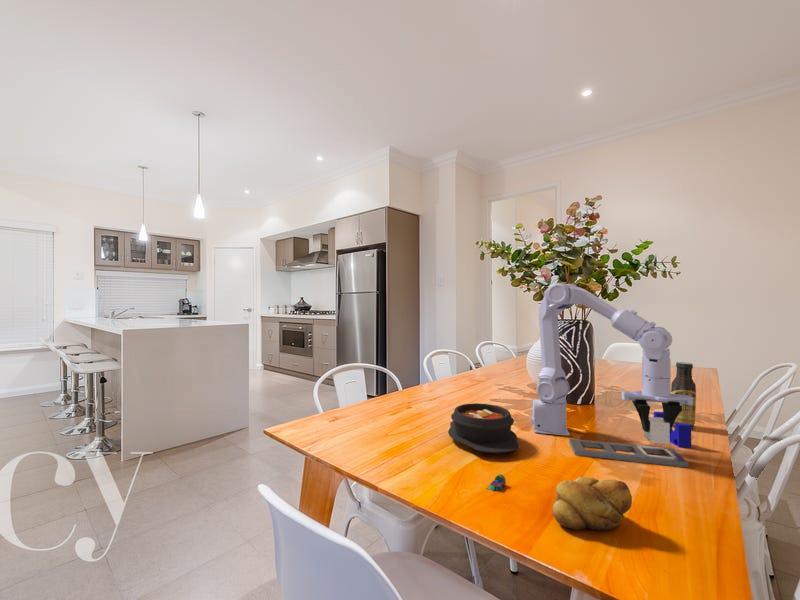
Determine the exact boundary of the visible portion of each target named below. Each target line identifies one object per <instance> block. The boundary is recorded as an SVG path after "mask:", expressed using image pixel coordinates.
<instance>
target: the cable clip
mask: <svg viewBox="0 0 800 600" xmlns="http://www.w3.org/2000/svg"><path fill="white" fill-rule="evenodd" d="M653 417H658V418H663V419H664V415H663V411H653ZM670 443H671V444H673V445H674V446H676V447H678V448H684V449H685V448H686V449H692V429H691V426H690V425H689V424H677V423H675V427H674V429H672V430H671V434H670Z"/></svg>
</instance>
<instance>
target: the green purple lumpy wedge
mask: <svg viewBox="0 0 800 600" xmlns="http://www.w3.org/2000/svg"><path fill="white" fill-rule="evenodd" d="M506 481H507V480H506V477H505V476H504V475H503V474H502V473H500V474H497V475H496V476H495V478H494V480H493V481H492V482H491V483H490V484H489V485H488V486H486V488H485V490H488V491H491V492H494V491H497V492H499V493H500V492H501V491H502V490H503V489H504V487H506V483H507V482H506Z"/></svg>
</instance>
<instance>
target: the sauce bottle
mask: <svg viewBox="0 0 800 600" xmlns="http://www.w3.org/2000/svg"><path fill="white" fill-rule="evenodd" d="M693 365H694V364H693V363H691V362H683V361H676V363H675V368H676V374H675V378H674V379H673V380H672V381H671V394H679V395H689V396H691V397H693V405H687V404H680V406H682V411H681V412H680V413H679V415H678V416H677V418H676V420H675V422H674V424H673V427H674V428H675V423H677V424H689V425H690V426H691V430H694V428H695V424H696V409H697V408H696V407H697V406H696V405H697V388H696V383H695V381H694V380H693V372H692V371H693V367H694V366H693Z"/></svg>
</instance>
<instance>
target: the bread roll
mask: <svg viewBox="0 0 800 600" xmlns="http://www.w3.org/2000/svg"><path fill="white" fill-rule="evenodd" d="M555 494H556V495H555V496H556V497H554V498H555V502H554V503H553V504H552V516H553V518H554V520H555V521H556V522H557V523H558V524H559V525H561V526H563V527H564V528H565V527H566V528H568V529H571V530H583V529H586V528H589V529H592V530H597V531H612V530H613V529H615V528H618V527H619V526H620V525H621V523H622V518H623V516H624V514H626V513H627V512H628V511H629V510H631V508H632V505H633V497H632V493H631V490H630V488H629V486H628V484H627V483H626V482H624V481H621V480H618V479H601V480H599V479H597V478H595V477H589V476H583V475H580V476H578V477H577V478H576V479H574V480H571V479H566V480H563V481H561V482H559V483H558V484H557V486H556V488H555Z"/></svg>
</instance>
